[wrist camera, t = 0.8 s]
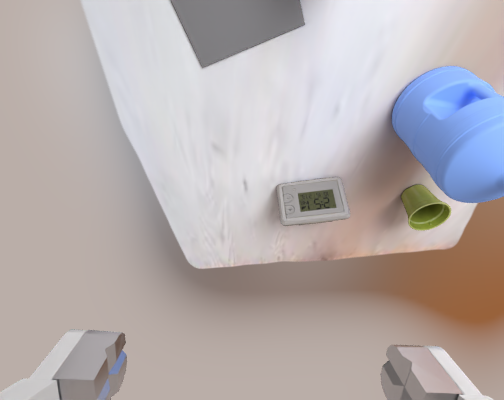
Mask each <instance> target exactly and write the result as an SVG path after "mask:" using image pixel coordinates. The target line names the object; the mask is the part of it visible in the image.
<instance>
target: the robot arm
mask: <svg viewBox="0 0 504 400" xmlns="http://www.w3.org/2000/svg"><path fill="white" fill-rule="evenodd" d="M125 343H126V341H125V334H124V333H121V332H108V331H95V330H75V329H71V330H69V331H68V332H66V333H65V334H64V336H63V337H62V338H61V339H60V341H59V342H58V343H57V344H56V346H55V347H54V348H53V349H52V351H51V352H50V353H49V354H48V355H47V357H46V358H45V359H44V360H43V362H42V363H41V364H40V365H39V366H38V368H37V369H36V370H35V372H34V373H33V374H32V375H31V376H30V378H29V379H21V380H20V381H18V382H16V383H15V384H13V385H11V386H10V387H8V388H6V389H5V390H3V391H1V392H0V400H111V397H112V396H113V395H114V394H116V393H117V392H118V391H119V389H120V387H121V384H122V382H123V379H124V375H125V371H126V364H127V356H126V354H125V353H124V352H123V351H122V349H123V347H124V345H125ZM386 355H387V357H388V359H389V361H387V362H386V363H385V364H384V365H383V366H382V371H381V384H382V388H383V391H384V393H385V396H386V398H387V400H494V399H492V398H490V397H489V396H483V395H482V394H481V393H480V392H479V391H478V389H477V388H476V387H475V386H474V385H473V383H472V382H471V381H470V380H469V379H468V378H467V376H466V375H465V374H464V373H463V372H462V370H461V369H460V368H459V367H458V366H457V365H456V363H455V362H454V361H453V360H452V359H451V357H450V356H449V355H448V354H447V353H446V351H444V350H443V349H442V348H440V347H439V346H413V345H391V346H389V347H388V350H387V353H386Z"/></svg>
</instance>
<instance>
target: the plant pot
mask: <svg viewBox="0 0 504 400" xmlns="http://www.w3.org/2000/svg"><path fill="white" fill-rule="evenodd" d="M401 199H402V201H403V204H404V206H405V209H406V212H407V214H408V224H409V226H410V227H411V228H412V229H415V230H429V229H432V228H435V227H437V226H439V225H441V224H442V223H444V222H445V221H446V220H447V219H448V218H449V216H450V214H451V208H450V206H449V205H448V204H446V203H444V202H442V201H440V200H438V199H437V198H436V197H435V196H434V195H433V194H432V193H431V192H430V191H429V190H428V189H427V188H426V187H424V186H423V185H413V186H412V187H410V188H408V189H406V190H405V191H404V192H403V193H402V195H401Z"/></svg>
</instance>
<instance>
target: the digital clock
mask: <svg viewBox="0 0 504 400" xmlns="http://www.w3.org/2000/svg"><path fill="white" fill-rule="evenodd" d="M277 198H278V206H279V214H280V221H281V224H282V225H284V226H289V225H304V224H313V223H322V222H331V221H334V220H343V219H347V218H349V217H350V210H349V206H348V202H347V198H346V194H345V190H344V186H343V182H342V179H341V178H339V177H333V178H322V179H314V180H306V181H299V182H291V183H286V184H280V185H278V186H277Z"/></svg>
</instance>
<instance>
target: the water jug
mask: <svg viewBox="0 0 504 400" xmlns="http://www.w3.org/2000/svg"><path fill="white" fill-rule="evenodd" d="M392 125H393V128H394V130H395V132H396V134H397V135H398V136H399V137H400V138H401V139H402V140H403V141H404V142H405V144H406V145H407V146H408V147H409V149H410V151H411V152H412V154H413V155H414V157H415V158H416V159H417V160H418V161H419V162H420V163H421V164H422V165H423V166H424V168H425V169H426V170H427V171H428V173H429V174H430V176H431V177H432V179H433V181H434V182H435V183H436V184H437V186H438V187H439V188H440V189H441V190H442V191H443V192H444V193H445V194H446V195H447V196H448V197H450V198H452V199H454V200H456V201H460V202H466V203H478V202H485V201H490V200H494V199H498V198H501V197H503V196H504V97H502V96H500V95H499V94H497V93H495V91H494V89H493V88H492V86H491V85H490V84H488V83H487V82H485V81H483V80H481V79H480V78H478V77H477V76H476V75H474V74H473V73H472V72H470V71H468V70H466V69H464V68H461V67H456V66H447V67H441V68H437V69H434V70H431V71H429V72H427V73H425V74H423V75H421V76H420V77H418V78H417V79H415V80H414V81H413V82H412V83H411V84H410V85H408V86H407V87H406V89H405V90H404V91H403V92H402V93H401V95H400V96H399V98H398V100H397V101H396V104H395V106H394V109H393V113H392Z"/></svg>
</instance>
